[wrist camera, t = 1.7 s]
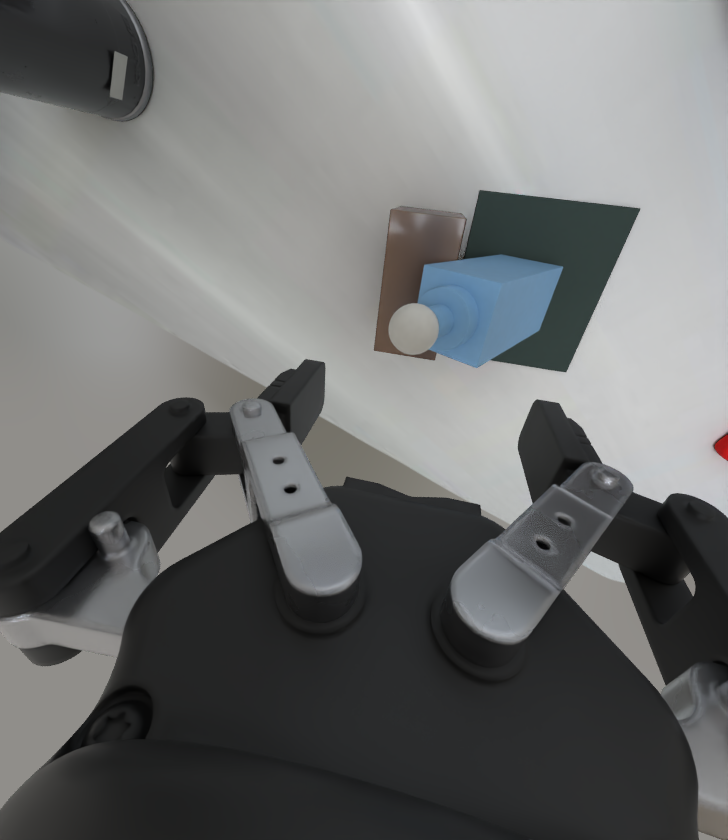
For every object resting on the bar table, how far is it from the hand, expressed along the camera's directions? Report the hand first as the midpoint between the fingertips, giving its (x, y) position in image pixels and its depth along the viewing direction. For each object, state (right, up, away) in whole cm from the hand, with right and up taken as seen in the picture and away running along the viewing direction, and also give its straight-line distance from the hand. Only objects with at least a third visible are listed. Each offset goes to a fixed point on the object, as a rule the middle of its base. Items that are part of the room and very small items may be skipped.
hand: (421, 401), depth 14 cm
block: (+4, +15, +24) cm, 28 cm away
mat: (+15, +13, +23) cm, 30 cm away
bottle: (+9, +13, +23) cm, 28 cm away
